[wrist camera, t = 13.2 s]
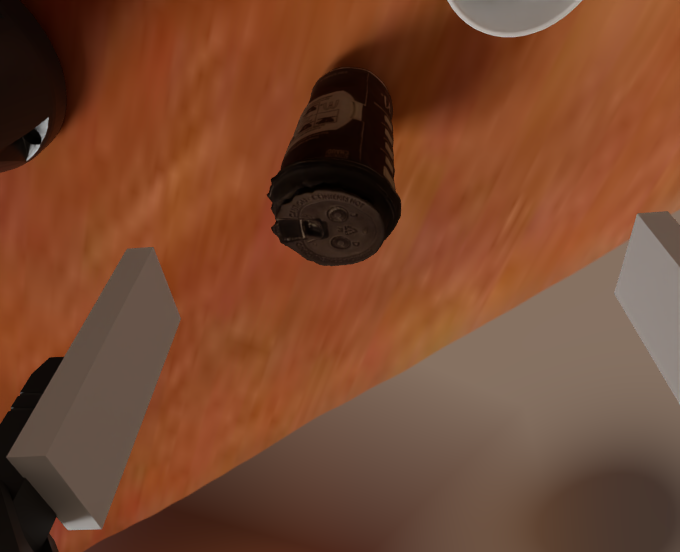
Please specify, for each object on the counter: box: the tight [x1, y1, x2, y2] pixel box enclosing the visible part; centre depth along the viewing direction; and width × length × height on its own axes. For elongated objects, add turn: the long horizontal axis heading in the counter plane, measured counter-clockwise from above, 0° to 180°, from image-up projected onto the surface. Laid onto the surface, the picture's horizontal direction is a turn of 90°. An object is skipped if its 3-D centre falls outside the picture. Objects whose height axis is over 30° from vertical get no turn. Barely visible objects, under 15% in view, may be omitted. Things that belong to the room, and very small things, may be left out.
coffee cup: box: [267, 67, 401, 266], centre depth 36 cm, size 9×8×13 cm
